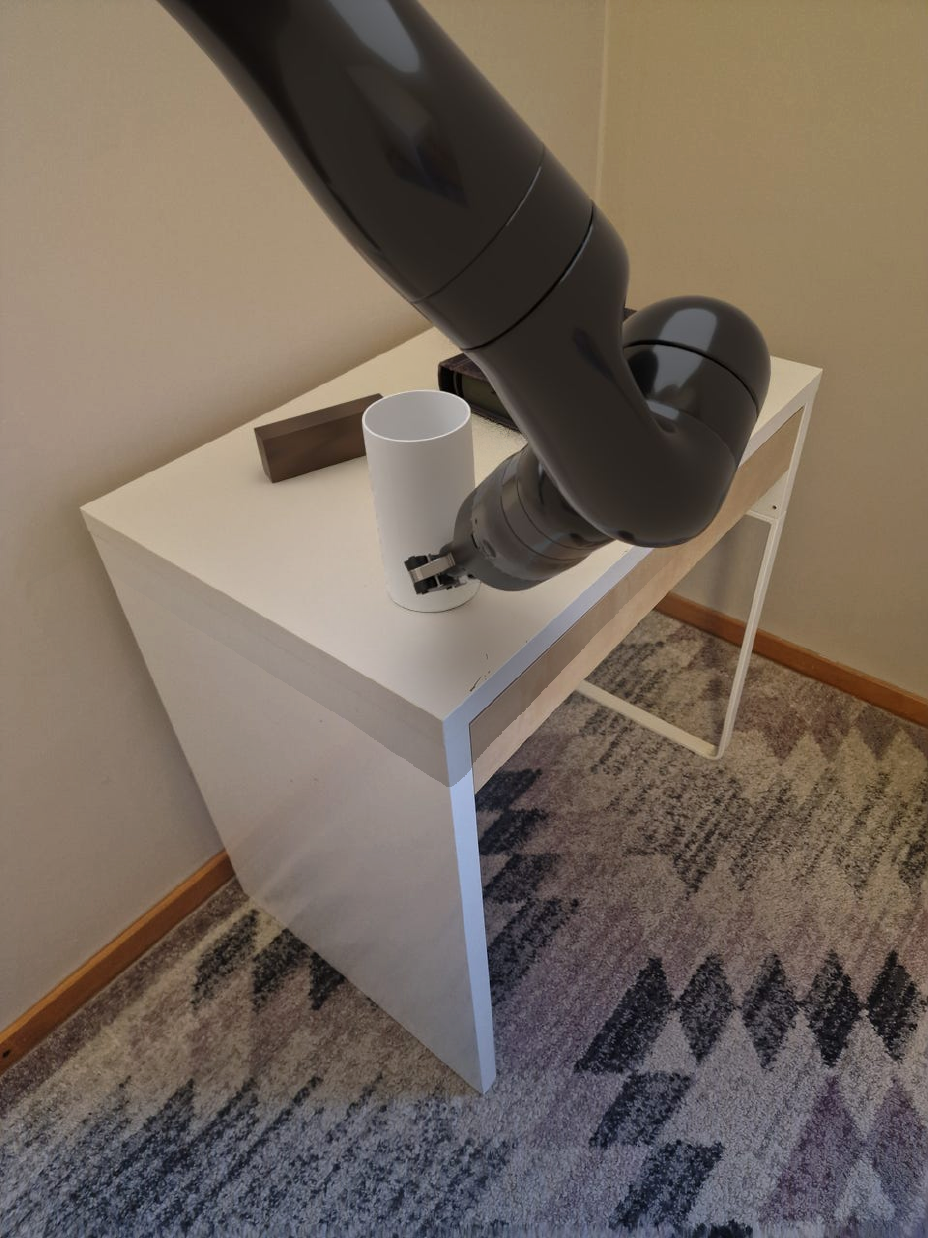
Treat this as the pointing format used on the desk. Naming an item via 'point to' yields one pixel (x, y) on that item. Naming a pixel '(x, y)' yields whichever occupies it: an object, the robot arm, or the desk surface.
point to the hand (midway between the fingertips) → (456, 573)
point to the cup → (419, 485)
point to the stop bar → (313, 439)
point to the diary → (478, 386)
